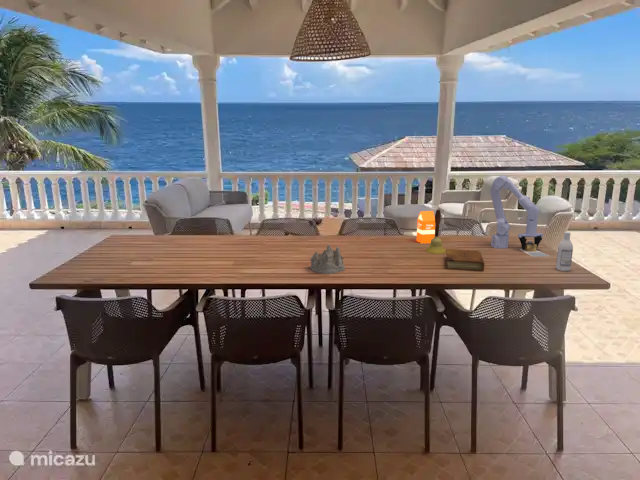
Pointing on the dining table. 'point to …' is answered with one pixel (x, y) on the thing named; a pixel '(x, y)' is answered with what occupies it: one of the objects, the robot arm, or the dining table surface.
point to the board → (534, 253)
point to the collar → (530, 247)
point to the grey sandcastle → (327, 261)
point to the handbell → (436, 238)
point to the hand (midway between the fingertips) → (529, 248)
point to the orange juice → (425, 227)
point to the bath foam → (564, 253)
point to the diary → (464, 260)
